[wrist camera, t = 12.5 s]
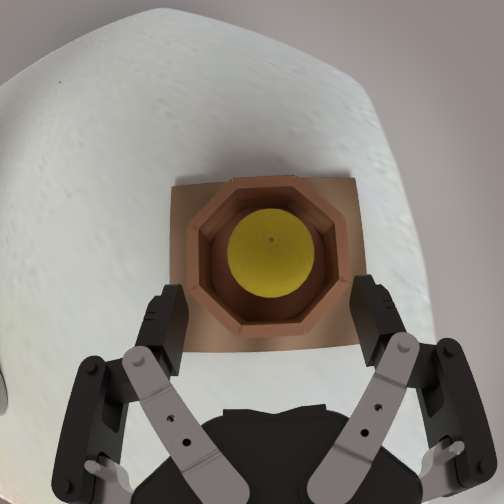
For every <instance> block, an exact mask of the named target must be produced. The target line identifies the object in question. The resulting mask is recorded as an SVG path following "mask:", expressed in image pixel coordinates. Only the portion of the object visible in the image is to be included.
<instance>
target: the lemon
mask: <svg viewBox="0 0 504 504" xmlns="http://www.w3.org/2000/svg"><path fill="white" fill-rule="evenodd" d="M227 257H228V264H229V267H230V270H231V273H232V275H233V276H234V278H235V279H236V281H237V282H238V283H239V284H240V285H241V286H242V287H243V288H244V289H245V290H247V291H249V292H251V293H253V294H255V295H257V296H261V297H266V298H272V297H280V296H283V295H287V294H289V293H291V292H293V291H294V290H296V289H297V288H299V287H300V286H301V284H302V283H303V282H304V281H305V280H306V279H307V277H308V275H309V273H310V271H311V269H312V265H313V261H314V245H313V241H312V237H311V235H310V233H309V231H308V229H307V227H306V226H305V225H304V224H303V223H302V222H301V221H300V220H299V219H298V218H297V217H296V216H294V215H292V214H291V213H289V212H286V211H283V210H280V209H270V208H269V209H263V210H258V211H256V212H253V213H251V214H249V215H248V216H246V217H245V218H244V219H242V220H241V221H240V222H239V224H238V225H237V226H236V227H235V229H234V230H233V232H232V235H231V237H230V239H229V243H228V248H227Z"/></svg>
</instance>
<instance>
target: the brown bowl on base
mask: <svg viewBox="0 0 504 504" xmlns="http://www.w3.org/2000/svg"><path fill="white" fill-rule="evenodd" d="M269 208H270V209H280V210H283V211H286V212H289V213H291V214H292V215H294V216H296V217H297V218H298V219H299V220H300V221H301V222H302V223H303V224H304V225H305V226H306V227H307V229H308V231H309V233H310V235H311V237H312V241H313V245H314V261H313V265H312V269H311V271H310V273H309V275H308V277H307V279H306V280H305V281H304V282H303V283H302V284H301V286H300V287H299V288H297V289H296V290H294V291H293V292H291V293H289V294H287V295H283V296H280V297H272V298H266V297H261V296H257V295H255V294H253V293H251V292H249V291H247V290H245V289H244V288H243V287H242V286H241V285H240V284H239V283H238V282H237V281H236V279H235V278H234V276H233V275H232V273H231V270H230V267H229V264H228V257H227V248H228V243H229V239H230V237H231V235H232V232H233V230H234V229H235V227H236V226H237V225H238V224H239V222H240V221H241V220H242V219H244V218H245V217H246V216H248V215H249V214H251V213H253V212H256V211H258V210H263V209H269ZM355 275H367V272H366V260H365V249H364V240H363V231H362V222H361V214H360V207H359V200H358V193H357V187H356V180H355V178H299V177H298V176H297V177H296V178H295V175H285V176H262V177H243V178H233V181H232V180H230V181H229V182H217V183H205V184H193V185H183V186H173V187H172V190H171V214H170V284H181V285H182V288H183V291H184V294H185V298H186V301H187V305H188V308H189V321H188V326H187V331H186V336H185V341H184V347H183V352H212V353H222V352H267V351H287V350H302V349H315V348H327V347H337V346H347V345H356V344H360V342H359V339H358V335H357V332H356V329H355V325H354V322H353V319H352V316H351V312H350V307H349V300H350V294H351V290H352V285H353V280H354V276H355Z"/></svg>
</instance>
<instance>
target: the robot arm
mask: <svg viewBox="0 0 504 504" xmlns="http://www.w3.org/2000/svg"><path fill="white" fill-rule="evenodd" d="M349 307H350V312H351V316H352V319H353V322H354V325H355V329H356V332H357V335H358V339H359V342H360V346H361V349H362V353H363V356H364V360H365V364H366V367H370V366H374V368H375V373H374V375H373V377H372V379H371V381H370V383H369V384H368V386H367V388H366V390H365V392H364V394H363V396H362V398H361V399H360V401H359V403H358V405H357V407H356V408H355V410H354V412H353V414H352V415H351V417H350V418H348V417H347V416H345V415H343V414H340V413H338V412H334V411H330V410H326V404H320V405H311V406H301V407H298V408H294V409H291V410H288V411H285V412H281V413H278V414H270V413H265V412H260V411H255V410H250V409H223V416H219V417H216V418H213V419H211V420H209V421H207V422H205V423H204V424H202V425H201V426H200V424H199V423H198V422H197V420H196V419H195V418H194V416H193V415H192V413H191V412H190V410H189V409H188V408H187V406H186V405H185V403H184V402H183V400H182V399H181V397H180V396H179V394H178V393H177V391H176V390H175V388H174V387H173V385H172V384H171V383H170V377H171V376H178V374H179V369H180V363H181V358H182V352H183V347H184V341H185V336H186V331H187V326H188V321H189V308H188V305H187V301H186V298H185V294H184V291H183V288H182V285H181V284H169V285H165V286H164V288H163V291H162V294H161V296H155V297H154V298H153V299H152V300H151V301H150V302H149V304H148V307H147V310H146V314H145V316H144V321H143V322H142V325H141V328H140V331H139V334H138V337H137V340H136V344H135V346H134V347H133V348H131V349H129V350H128V351H127V352H126V353H125V354H124V356H123V358H120V359H116V360H112V361H107V362H105V361H104V360H103V359H102V358H101V357H99V356H90V357H87V358H86V359H84V360H83V361H82V363H81V364H80V366H79V369H78V372H77V375H76V378H75V382H74V385H73V388H72V392H71V395H70V399H69V402H68V406H67V410H66V414H65V418H64V422H63V426H62V430H61V434H60V439H59V443H58V448H57V453H56V458H55V463H54V469H53V475H52V482H51V486H52V490H53V492H54V494H55V496H56V497H57V498H58V499H59V500H61V501H63V502H65V503H68V504H421V503H423V502H426V501H429V500H432V499H435V498H438V497H449V496H452V495H455V494H458V493H460V492H463V491H465V490H468V489H470V488H473V487H475V486H477V485H480V484H482V483H484V482H486V481H488V480H489V479H490V478H491V477H492V476H493V475H494V474H495V471H496V469H497V457H496V452H495V448H494V444H493V440H492V436H491V432H490V428H489V425H488V421H487V418H486V414H485V411H484V407H483V404H482V401H481V398H480V395H479V392H478V389H477V386H476V383H475V381H474V378H473V375H472V372H471V370H470V367H469V365H468V362H467V360H466V357H465V355H464V352H463V350H462V348H461V346H460V344H459V343H458V342H457V341H455V340H454V339H451V338H443V339H441V340H440V341H439V342H438V343H437V345H431V344H423V343H419V342H418V340H417V339H416V338H415V337H414V336H413V335H411V334H409V333H407V332H406V329H405V327H404V325H403V322H402V320H401V318H400V315H399V313H398V311H397V309H396V308H395V304H394V302H393V301H392V298H391V295H390V293H389V291H388V290H387V289H386V288H385V287H384V286H382V285H381V284H378V285H376V284H375V282H374V280H373V277H372V276H371V275H370V274H367V275H355V276H354V280H353V285H352V290H351V294H350V300H349ZM407 387H409V388H416V392H417V396H418V400H419V404H420V408H421V412H422V417H423V421H424V426H425V431H426V436H427V441H428V446H429V450H428V451H427V452H426V453H425V454H424V456H423V459H422V469H421V472H420V474H419V476H418V475H417V474H416V473H415V472H414V471H413V470H411V469H410V468H409V467H408V466H406V465H405V464H404V463H403V462H401V461H400V460H399V459H398V458H396V457H395V456H394V455H393V454H391V453H390V452H389V451H388V450H387V449H385V448H384V447H383V446H382V443H383V441H384V439H385V437H386V435H387V433H388V431H389V429H390V427H391V424H392V422H393V420H394V418H395V416H396V414H397V411H398V409H399V407H400V405H401V402H402V400H403V398H404V395H405V393H406V390H407ZM135 401H139V402H140V405H141V407H142V409H143V410H144V412H145V414H146V416H147V418H148V419H149V421H150V423H151V425H152V426H153V428H154V430H155V432H156V433H157V435H158V437H159V438H160V440H161V441H162V443H163V445H164V446H165V448H166V449H167V451H168V453H169V454H170V456H169V457H168V458H167V459H166V460H165V461H164V462H163V463H162V464H161V465H160V466H159V467H158V468H157V469H156V470H155V471H154V472H153V473H152V474H151V475H149V476H148V477H147V478H146V479H145V480H144V481H143V482H142V483H141V484H140V485H139V486H138V487H137V488H136V489H135V490H134V491H133V490H132V488H131V487H130V484H129V476H128V473H127V471H126V470H125V469H124V468H123V467H122V466H120V459H121V451H122V444H123V437H124V430H125V423H126V417H127V411H128V405H129V403H130V402H135ZM6 408H7V395H6V389H5V385H4V382H3V378H2V376H1V373H0V416H1V415H3V414H4V413H5V411H6Z"/></svg>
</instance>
